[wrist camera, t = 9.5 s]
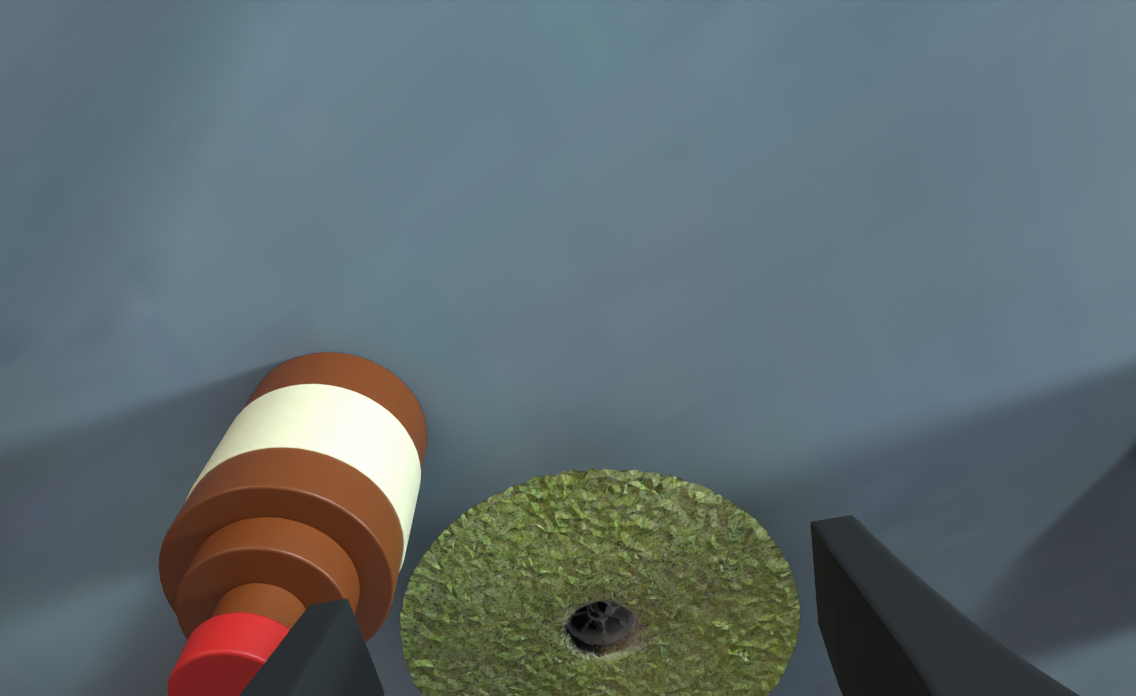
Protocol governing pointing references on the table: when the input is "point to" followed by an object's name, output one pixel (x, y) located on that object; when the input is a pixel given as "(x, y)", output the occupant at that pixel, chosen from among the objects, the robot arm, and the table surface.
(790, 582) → the yellow-green flat disc
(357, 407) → the sauce bottle
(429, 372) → the table surface
